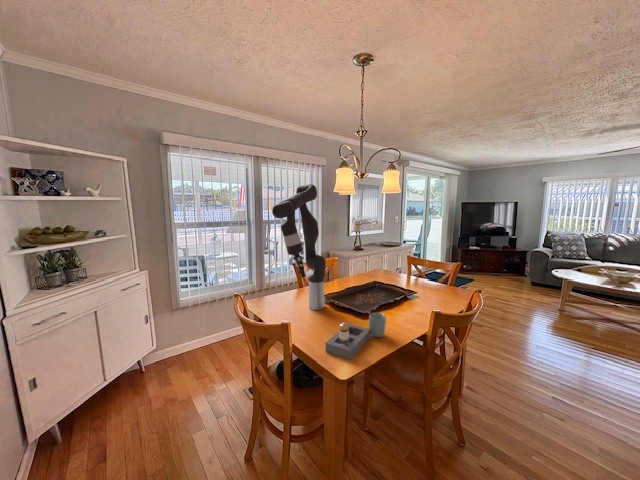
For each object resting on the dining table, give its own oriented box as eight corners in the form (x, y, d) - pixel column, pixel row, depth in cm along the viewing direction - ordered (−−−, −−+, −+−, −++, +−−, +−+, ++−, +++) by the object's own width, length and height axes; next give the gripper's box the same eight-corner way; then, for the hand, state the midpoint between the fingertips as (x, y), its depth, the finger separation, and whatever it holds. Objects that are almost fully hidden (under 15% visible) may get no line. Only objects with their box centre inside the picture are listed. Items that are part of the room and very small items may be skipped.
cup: (366, 331, 129) (367, 312, 128) (381, 331, 130) (382, 312, 129) (370, 339, 121) (371, 319, 120) (386, 339, 122) (388, 319, 121)
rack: (325, 351, 112) (325, 342, 111) (347, 330, 130) (348, 323, 130) (350, 360, 106) (350, 351, 105) (370, 337, 124) (370, 329, 124)
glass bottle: (342, 342, 117) (341, 319, 116) (350, 345, 114) (350, 322, 113) (337, 347, 113) (337, 323, 112) (346, 349, 111) (345, 325, 110)
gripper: (303, 242, 116) (312, 276, 119) (298, 239, 130) (307, 269, 133) (287, 247, 115) (296, 281, 118) (284, 243, 129) (293, 274, 131)
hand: (302, 275), depth 125 cm, fingers open, 8 cm apart
